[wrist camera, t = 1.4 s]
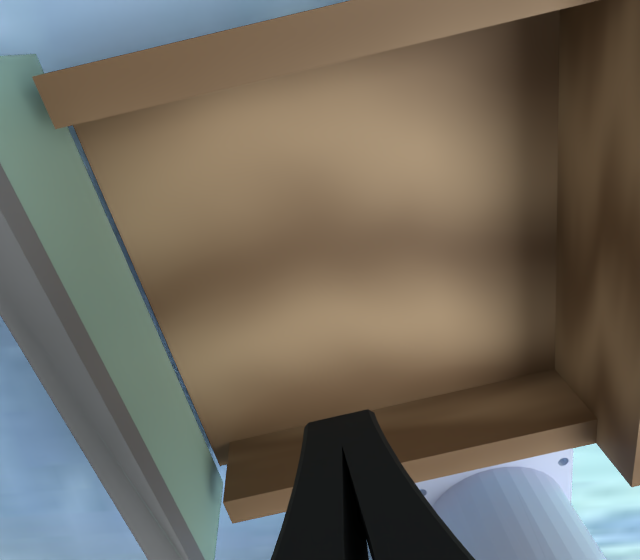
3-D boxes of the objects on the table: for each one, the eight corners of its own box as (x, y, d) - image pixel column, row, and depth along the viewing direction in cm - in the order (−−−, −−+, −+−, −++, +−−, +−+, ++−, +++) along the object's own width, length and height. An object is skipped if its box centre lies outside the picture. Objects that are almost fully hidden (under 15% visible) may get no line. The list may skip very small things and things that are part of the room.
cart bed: (569, 370, 22) (666, 479, 16) (222, 448, 22) (205, 580, 17) (582, -50, 14) (765, -104, 9) (65, 74, 15) (-55, 92, 9)
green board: (225, 482, 21) (212, 602, 16) (198, 488, 21) (177, 609, 16) (39, 53, 13) (-82, 59, 9) (-4, 63, 13) (-146, 74, 9)
